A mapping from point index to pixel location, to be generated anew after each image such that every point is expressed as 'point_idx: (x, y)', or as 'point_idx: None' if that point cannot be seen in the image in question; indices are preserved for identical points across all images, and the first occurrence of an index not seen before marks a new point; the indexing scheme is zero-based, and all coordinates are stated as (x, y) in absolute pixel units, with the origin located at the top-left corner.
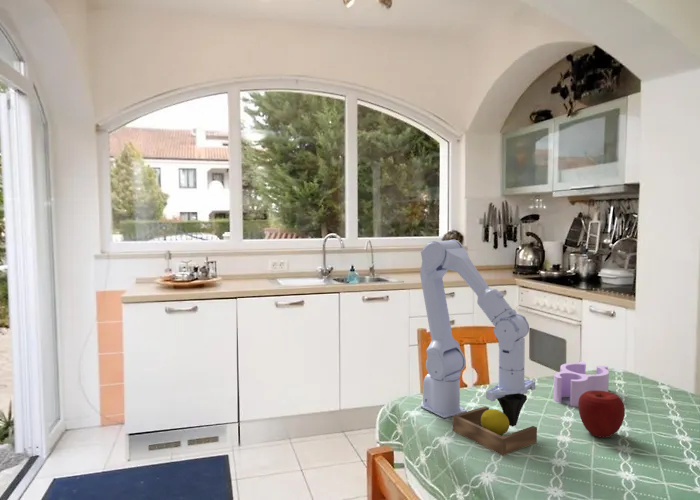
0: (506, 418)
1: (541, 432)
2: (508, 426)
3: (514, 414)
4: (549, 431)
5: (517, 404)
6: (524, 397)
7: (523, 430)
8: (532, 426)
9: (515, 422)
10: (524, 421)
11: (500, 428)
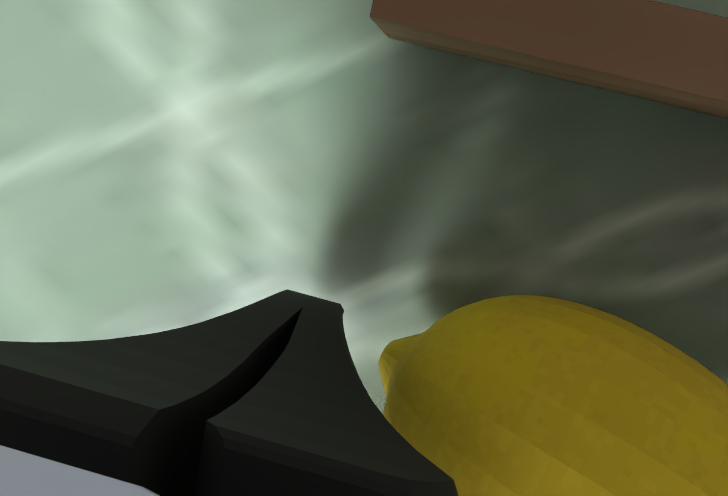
0: (536, 381)
1: (128, 73)
2: (519, 305)
3: (323, 352)
4: (43, 20)
5: (276, 408)
6: (8, 399)
7: (648, 46)
8: (399, 15)
9: (304, 302)
10: (37, 306)
11: (671, 347)
